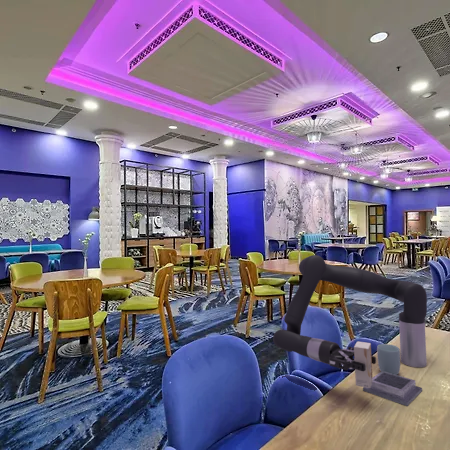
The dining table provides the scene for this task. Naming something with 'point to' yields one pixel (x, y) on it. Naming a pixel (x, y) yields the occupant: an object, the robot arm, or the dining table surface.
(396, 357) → the cup
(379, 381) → the tray
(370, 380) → the skincare box
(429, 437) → the dining table surface
